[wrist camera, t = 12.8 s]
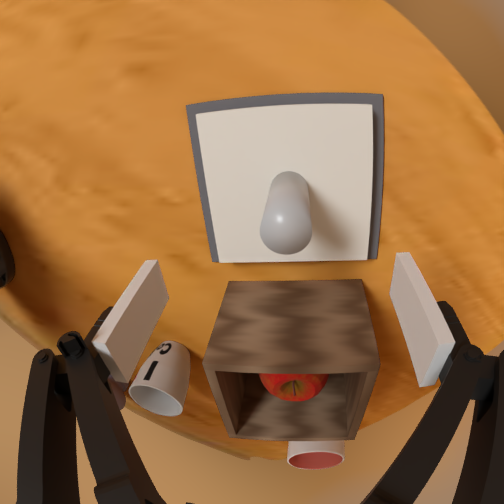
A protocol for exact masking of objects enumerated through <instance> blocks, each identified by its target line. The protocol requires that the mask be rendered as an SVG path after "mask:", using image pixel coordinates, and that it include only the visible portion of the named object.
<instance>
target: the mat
mask: <svg viewBox="0 0 504 504" xmlns="http://www.w3.org/2000/svg"><path fill="white" fill-rule="evenodd" d="M292 104H371V105H372V115H373V176H372V201H371V218H370V232H369V244H368V255H367V259H376V258H377V250H378V240H379V230H380V218H381V204H382V187H383V159H384V115H383V94H368V93H297V94H278V95H264V96H252V97H242V98H233V99H225V100H217V101H210V102H203V103H197V104H191V105H186V109H187V116H188V123H189V130H190V136H191V143H192V149H193V155H194V162H195V168H196V174H197V180H198V186H199V191H200V197H201V203H202V209H203V214H204V220H205V225H206V231H207V236H208V241H209V247H210V252H211V257H212V262H219V257H218V251H217V246H216V240H215V234H214V229H213V223H212V217H211V211H210V205H209V199H208V193H207V187H206V181H205V174H204V168H203V162H202V155H201V149H200V142H199V135H198V128H197V121H196V114H199V113H206V112H213V111H221V110H230V109H239V108H249V107H261V106H274V105H292Z"/></svg>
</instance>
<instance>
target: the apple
mask: <svg viewBox="0 0 504 504" xmlns="http://www.w3.org/2000/svg"><path fill="white" fill-rule="evenodd" d="M259 376H260V379H261V382H262V383H263V385H264V386H265V388H266V389H267V390H268V391H269V393H270V394H272V395H274V396H276V397H278V398H279V399H281V400H287V401H305V400H309V399H311V398H313V397H315V396H316V395H318V394H319V392H320V391H321V390H322V389H323V387H324V386H325V384H326V382H327V380H328V377H329V374H268V373H259Z"/></svg>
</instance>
